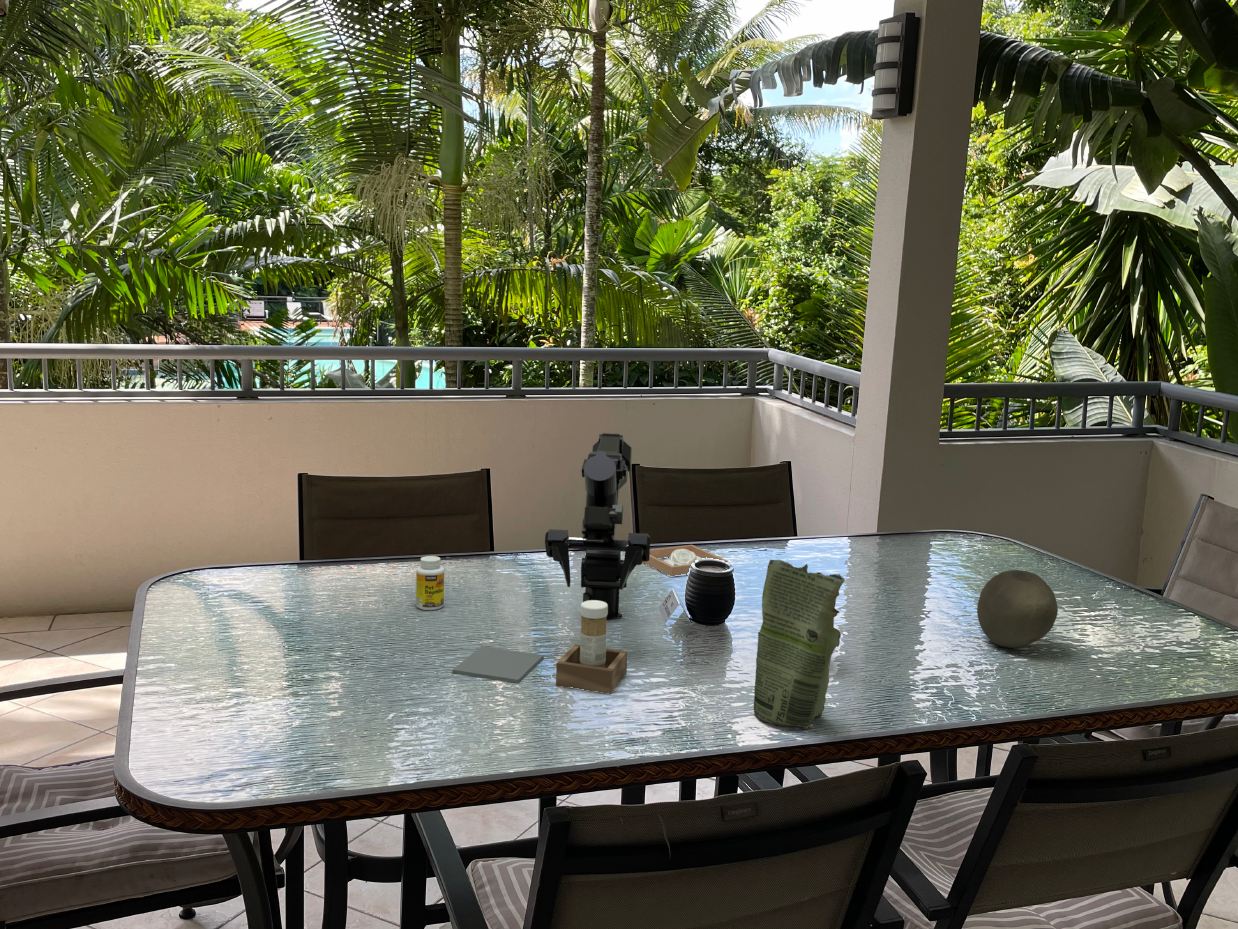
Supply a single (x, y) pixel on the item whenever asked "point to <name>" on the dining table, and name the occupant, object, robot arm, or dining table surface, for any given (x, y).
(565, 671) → the walnut sleeve
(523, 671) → the grey mat
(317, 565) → the dining table surface
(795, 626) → the pouch
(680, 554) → the rose
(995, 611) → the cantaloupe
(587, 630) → the sprinkles bottle
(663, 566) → the wooden square frame
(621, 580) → the robot arm
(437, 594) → the supplement bottle
